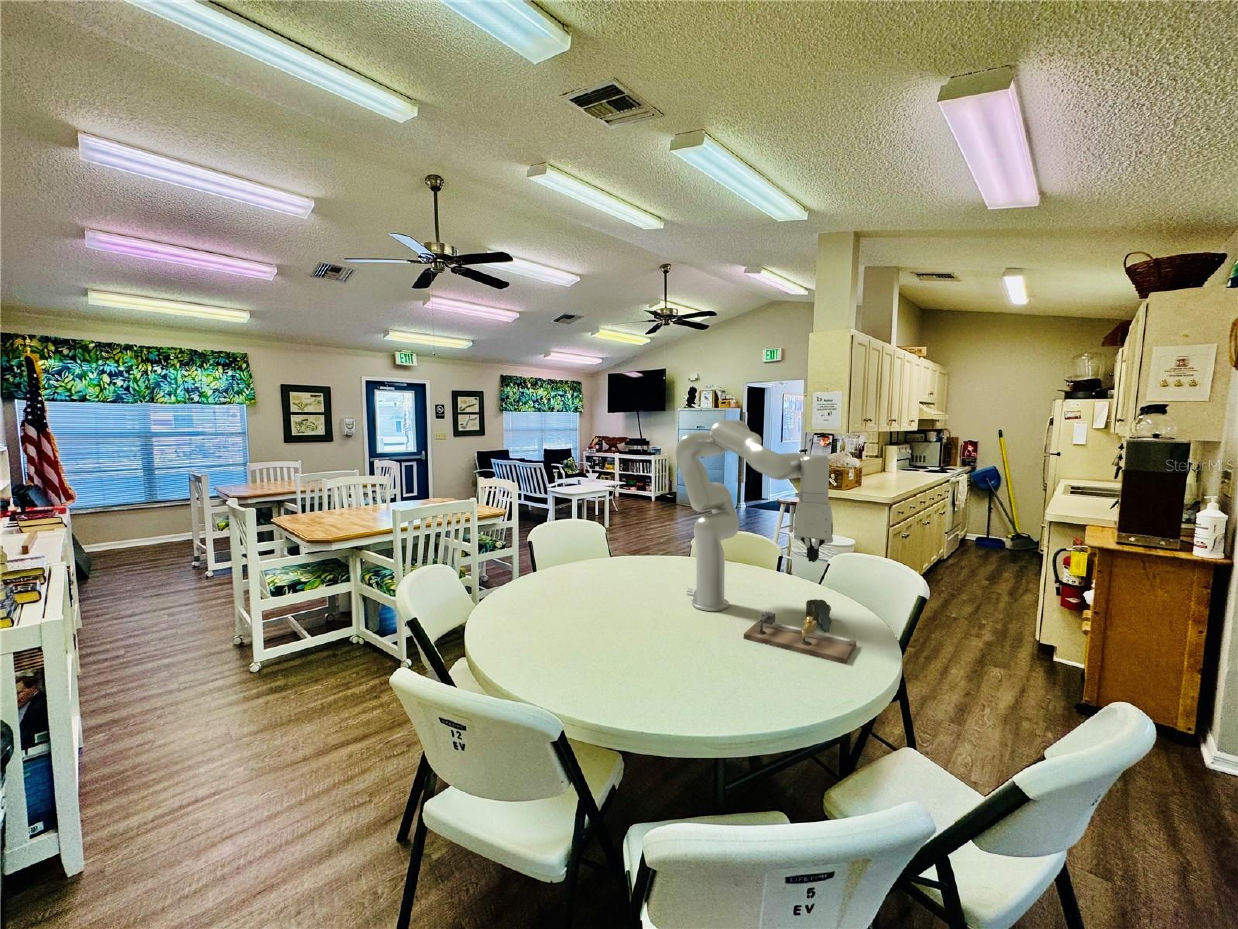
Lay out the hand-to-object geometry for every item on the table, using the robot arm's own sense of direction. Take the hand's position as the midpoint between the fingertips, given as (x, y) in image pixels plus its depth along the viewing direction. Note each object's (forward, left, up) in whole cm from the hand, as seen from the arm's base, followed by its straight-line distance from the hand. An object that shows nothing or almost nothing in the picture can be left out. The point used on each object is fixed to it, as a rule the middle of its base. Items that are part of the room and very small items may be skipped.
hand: (812, 560), depth 149 cm
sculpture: (-1, +12, -24) cm, 26 cm away
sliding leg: (0, -4, -21) cm, 21 cm away
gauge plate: (-2, -5, -23) cm, 24 cm away
